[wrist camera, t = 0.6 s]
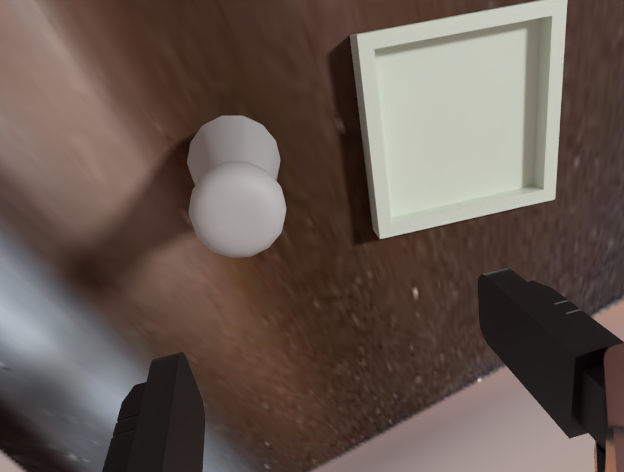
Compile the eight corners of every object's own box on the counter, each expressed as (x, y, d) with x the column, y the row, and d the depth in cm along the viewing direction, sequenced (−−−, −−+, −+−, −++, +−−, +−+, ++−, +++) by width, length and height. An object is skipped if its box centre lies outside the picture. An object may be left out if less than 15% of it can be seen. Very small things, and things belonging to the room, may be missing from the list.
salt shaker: (266, 200, 33) (289, 289, 21) (185, 185, 31) (160, 272, 20) (283, 119, 31) (319, 167, 19) (197, 100, 29) (178, 139, 18)
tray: (349, 35, 30) (356, 34, 28) (549, -2, 31) (567, -5, 29) (372, 230, 35) (380, 239, 34) (540, 192, 37) (555, 199, 35)
